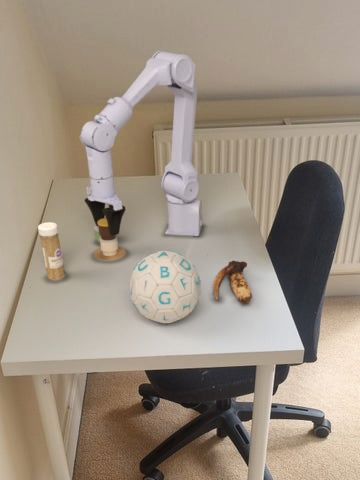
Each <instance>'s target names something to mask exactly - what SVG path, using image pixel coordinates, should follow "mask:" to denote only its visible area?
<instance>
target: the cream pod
mask: <svg viewBox="0 0 360 480" xmlns="http://www.w3.org/2000/svg"><path fill="white" fill-rule="evenodd" d="M115 236H116V237H115V239H113V240H102V239H101V236H100V237H99V240H100V243H99V244H100V249H101V250H102V251H103V255H105V256H113V255H116V254H117V249H118V247H119V242H118V235H115Z"/></svg>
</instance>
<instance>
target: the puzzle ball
mask: <svg viewBox="0 0 360 480" xmlns="http://www.w3.org/2000/svg"><path fill="white" fill-rule="evenodd" d="M128 284H129V295H130V298H131V302H132V303H133V306H134V307H135V309H136V311H137V312H139V314H141V315H142V316H143V317H145V318H147V319H149V320H151V321H154V322H157V323H161V324H163V325H164V324H171V323H174V322H177V321H179V320H182V319H183V318H186V317H188V316H189V314H191V313H192V311H193V310H194V309H195V308H196V306H197V304H198V303H199V300H200V296H201V292H202V287H201V284H202V283H201V279H200V275H199V273H198V270H197V269H196V267H195V265H194V264H193V263H192V261H190V260H189V259H188V258H187V257H186V256H184V255H182V254H180V253H178V252H174V251H170V250H169V251H168V250H159V251H156V252H153V253H149V254H148V255H145V256H144V257H143V258H142V259H141V260H140V261H139V262H138V263H137V264H136V265H135V266H134V267H133V270H132V274H131V276H130V279H129V283H128Z"/></svg>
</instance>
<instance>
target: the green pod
mask: <svg viewBox="0 0 360 480" xmlns="http://www.w3.org/2000/svg"><path fill="white" fill-rule="evenodd" d="M93 232H94V238H95V241H96V242H97V243H99V244H100V240H99V237H100V236H101V235H99V229H98V227H97V226H96V224H95V225H94V226H93Z"/></svg>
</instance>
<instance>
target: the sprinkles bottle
mask: <svg viewBox="0 0 360 480" xmlns="http://www.w3.org/2000/svg"><path fill="white" fill-rule="evenodd" d="M37 231H38V235H39V237H40V243H41V250H42V255H43V261H44V267H45V271H46V275H47V279H48V280H53V281H54V280H56V281H57V280H61V279H63V278H65V277H66V273H65V267H64V259H63V253H62V250H61V242H60V238H59V228H58V224H57V223H56V222H51V221H48V222H42V223H40V224H38V226H37Z"/></svg>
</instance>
